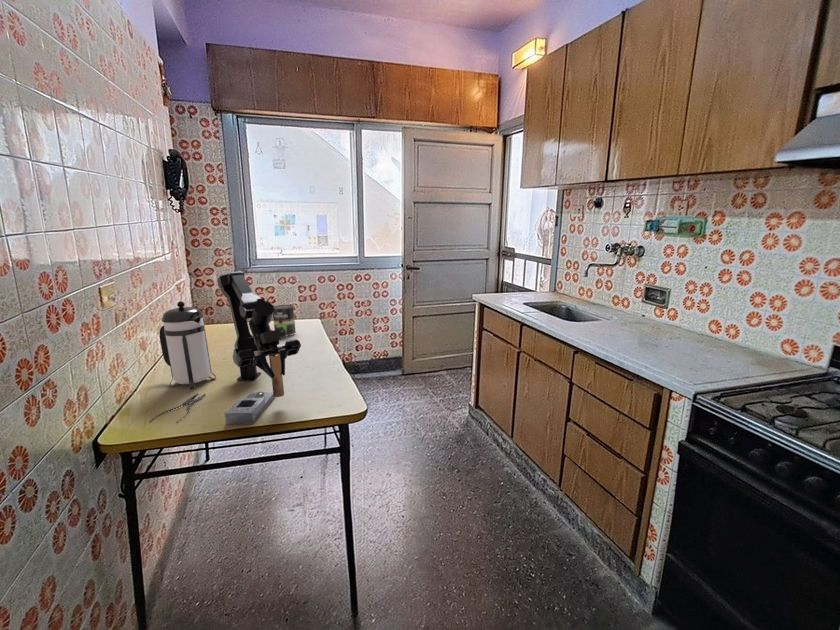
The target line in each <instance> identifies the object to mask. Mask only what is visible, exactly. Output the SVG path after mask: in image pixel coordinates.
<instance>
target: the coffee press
mask: <svg viewBox="0 0 840 630" xmlns="http://www.w3.org/2000/svg"><path fill="white" fill-rule="evenodd" d="M176 306H177V307H176V308H172V309H168V310H167V311H165V312H164V313H163V315H162V317H161V322H162V323H163V325H162V326H161V327H160V329H159V332H158V333H159V334H158V335H159V341H160V347H161V353H162V357H163V360H164V362H165V363H166V364H167V366H168V367H170V371H171V377H172V379H171V380H170V382H169V386H170V387H171V386H172V385H173V387H175V385H176V384H180V385H189V390H195V389H194V388H195V384H197V383H200V382H203V381H205V380H206V379H211V380H213V381H214V380H216V379H217V375H216V374H215V373H213V371H212V365H211V359H210V353H209V347H208V346H209V345H208V340H207V333H206V326H205V323H204V319H203V318H204V313H203V312H202V311H201V309H199V308H197V307H194V306H185V302H183V301H182V300H181V301H178V302H177V304H176ZM211 375H213V376H214V377H211ZM173 381H174V382H175V383H173V384H171V383H172V382H173Z"/></svg>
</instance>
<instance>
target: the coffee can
mask: <svg viewBox="0 0 840 630" xmlns="http://www.w3.org/2000/svg"><path fill="white" fill-rule="evenodd" d="M273 306H274V312H273V315H272V318H273V319H272V320H273V326H274V327H273V328H274V329H273V330H276V328H278V327H283V328H284V330H285V334H286V337H289V336H288V335H291V336H293V335H292V334H294V333H296V334H297V331H296V321H295V310H294V305H293V304H288V303H287V304H278V305H273ZM294 335H295V334H294Z"/></svg>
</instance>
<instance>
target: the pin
mask: <svg viewBox="0 0 840 630" xmlns="http://www.w3.org/2000/svg"><path fill="white" fill-rule="evenodd" d="M268 358H269V359H268V360H269V367H270V369H271V371H272V374H273V378H271V385H272V392H273V395H274V397H275V398H280V397H284V396H285V386H284V378H283V376H284V375H283V374H282V367H281V358H280V354H278V353H275V354H271V355H269V356H268Z"/></svg>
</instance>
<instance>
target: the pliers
mask: <svg viewBox="0 0 840 630" xmlns="http://www.w3.org/2000/svg"><path fill="white" fill-rule="evenodd" d="M197 395H198V396H197ZM196 396H197V398H196ZM205 396H206V393H203V394H202V395H201V396H199V393H195V394H194V395H192V396H191V397H189V398H188V399H186V400H185V401H184V402H182V403H181V404H180V405H178V406H175V407H172V408H170V409H167V410H165V411H163V412H161V413H158V414H156V415H155V416H153V417H152V418H151V419H150V420H149V421H148V422H149V423H152V422H153V421H154V420H156V419H157V418H159V417H161V416H162V415H161V414H163V415H165V414H167V413H169V412H168V411H170V412H172V411H171V410H173V409H176V408H178V409H180V408H179V407H181V406H183V407H185V406H186V411H187V413H185V414H186V415H187V414H188V413H189V414H190V412H189V410H190V411H191V408H192V407H193V406H194V405H195V404H196V403H198V402H200V401H201V400H203V399H204V398H205ZM203 397H204V398H203ZM194 398H195V399H194ZM202 398H203V399H202ZM199 400H200V401H199ZM197 401H198V402H197ZM195 402H196V403H195ZM194 403H195V404H194ZM186 404H188V405H186ZM184 405H185V406H184ZM190 407H191V408H190ZM181 408H182V407H181ZM176 410H177V409H176ZM173 411H174V410H173ZM166 412H167V413H166ZM164 413H165V414H164ZM185 414H184V416H182V417H181V418H180V419H178V420H176V421H175V423H176V422H177V421H179V420H181V419H182V418H184V417H185V416H186V415H185ZM189 414H188V415H189ZM160 415H161V416H160ZM158 416H159V417H158ZM156 417H157V418H156ZM185 418H186V417H185ZM185 418H184V419H185ZM181 421H182V420H181Z"/></svg>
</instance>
